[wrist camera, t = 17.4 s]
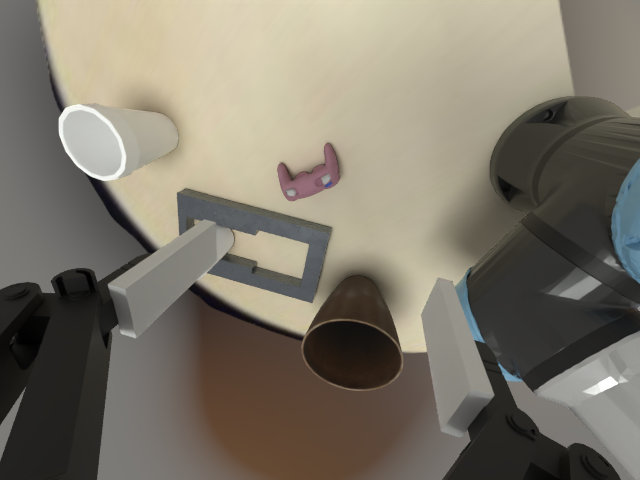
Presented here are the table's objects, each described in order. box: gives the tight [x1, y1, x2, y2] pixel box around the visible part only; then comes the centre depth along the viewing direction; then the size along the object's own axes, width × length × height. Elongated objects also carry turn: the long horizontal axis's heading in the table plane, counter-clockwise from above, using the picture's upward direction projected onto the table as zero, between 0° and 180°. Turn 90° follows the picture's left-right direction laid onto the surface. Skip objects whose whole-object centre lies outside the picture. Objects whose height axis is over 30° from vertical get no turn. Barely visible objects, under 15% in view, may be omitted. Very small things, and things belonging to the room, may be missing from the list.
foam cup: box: [59, 104, 179, 181], centre depth 41 cm, size 10×9×13 cm
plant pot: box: [302, 276, 403, 391], centre depth 48 cm, size 15×15×16 cm
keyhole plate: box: [177, 189, 332, 303], centre depth 53 cm, size 28×16×2 cm, turn 78°
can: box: [198, 225, 234, 279], centre depth 49 cm, size 6×6×12 cm
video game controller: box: [277, 143, 340, 201], centre depth 43 cm, size 10×5×7 cm, turn 113°
